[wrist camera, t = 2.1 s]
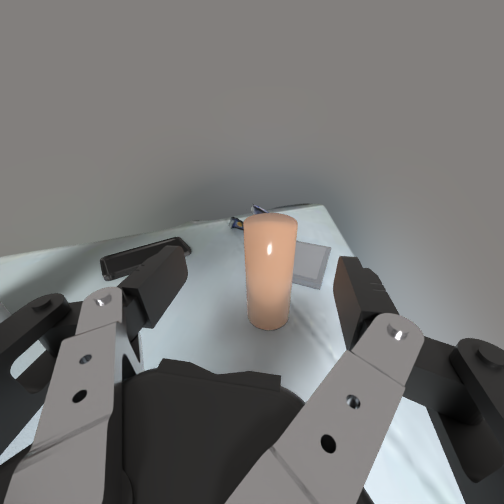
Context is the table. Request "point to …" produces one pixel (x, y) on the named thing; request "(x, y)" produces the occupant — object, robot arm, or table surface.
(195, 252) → the table surface
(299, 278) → the coaster
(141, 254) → the phone
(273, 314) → the peach tall cylinder
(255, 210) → the snack package
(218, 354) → the table surface
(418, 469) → the table surface
